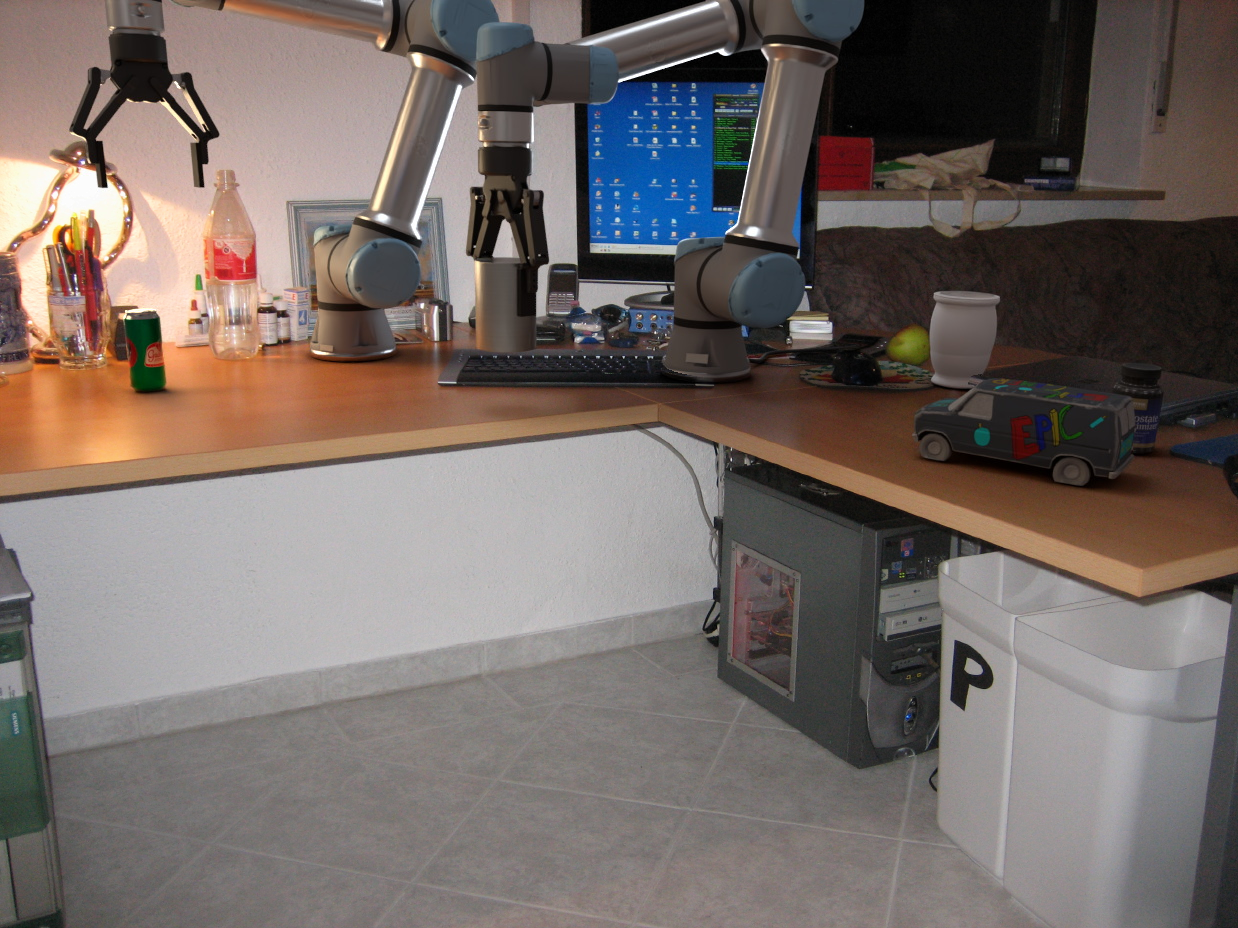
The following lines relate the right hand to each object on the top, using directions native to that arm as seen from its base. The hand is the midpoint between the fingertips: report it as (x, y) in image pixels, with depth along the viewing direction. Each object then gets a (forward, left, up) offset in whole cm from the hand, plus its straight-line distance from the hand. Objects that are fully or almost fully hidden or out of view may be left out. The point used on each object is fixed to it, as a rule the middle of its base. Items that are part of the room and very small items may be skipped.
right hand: (506, 311), depth 152 cm
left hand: (+32, -45, +16) cm, 57 cm away
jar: (-70, +31, -14) cm, 78 cm away
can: (0, 0, -5) cm, 5 cm away
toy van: (-33, +62, -14) cm, 72 cm away
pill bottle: (-52, +67, -14) cm, 86 cm away
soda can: (+36, -44, -14) cm, 58 cm away
